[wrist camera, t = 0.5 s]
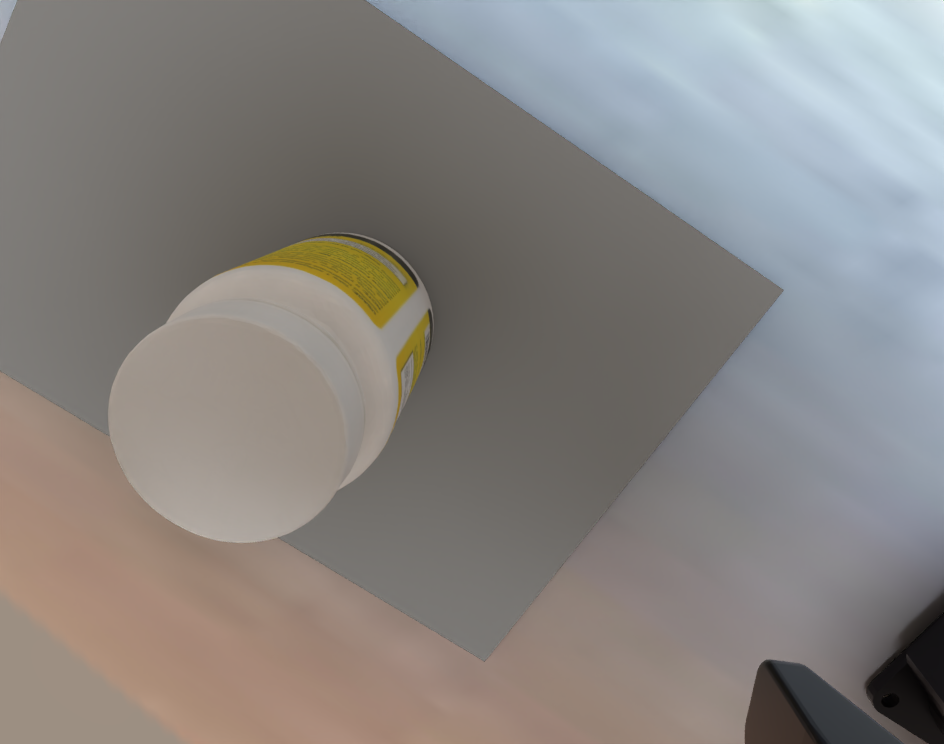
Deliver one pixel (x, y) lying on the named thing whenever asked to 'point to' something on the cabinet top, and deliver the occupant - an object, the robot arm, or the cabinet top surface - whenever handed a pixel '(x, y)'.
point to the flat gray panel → (384, 219)
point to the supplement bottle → (271, 387)
